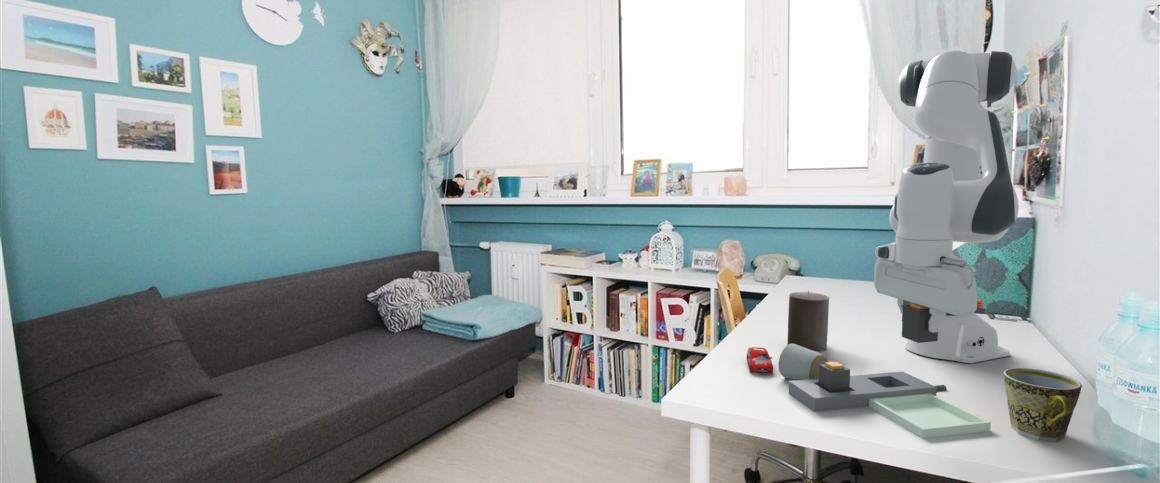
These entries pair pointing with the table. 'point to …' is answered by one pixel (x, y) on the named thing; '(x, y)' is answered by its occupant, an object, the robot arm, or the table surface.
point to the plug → (917, 324)
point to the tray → (929, 415)
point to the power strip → (854, 388)
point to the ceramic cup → (1040, 402)
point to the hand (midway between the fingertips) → (919, 327)
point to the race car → (759, 361)
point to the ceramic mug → (800, 363)
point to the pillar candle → (808, 320)
